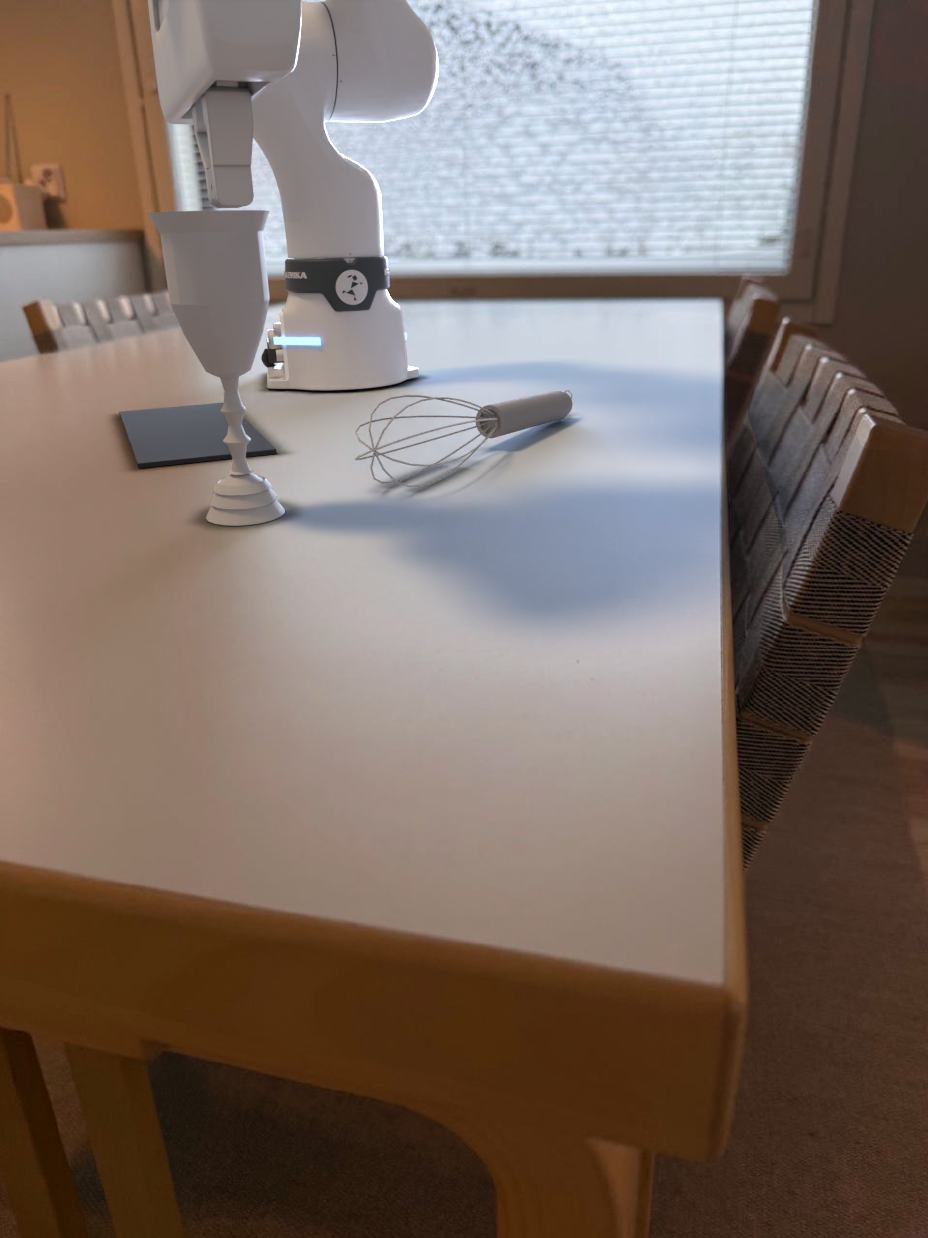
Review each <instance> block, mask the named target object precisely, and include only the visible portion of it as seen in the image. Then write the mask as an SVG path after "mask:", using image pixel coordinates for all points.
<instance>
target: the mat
mask: <svg viewBox="0 0 928 1238" xmlns="http://www.w3.org/2000/svg"><path fill="white" fill-rule="evenodd" d="M223 404H224V402H215V403H214V402H213V403H202V404H191V405H181V406H179V405H178V406H169V407H156V408H145V409H131V410H122V411H121V410H120V411H119V412H118V413H119V417H120V420H121V423H122V426H123V428H124V431H125V434H126V438H127V440H128V443H129V446H130V448H131V451H132V454H133V457H134V461H135V463H136V466H137V469H146V468H147V469H148V468H157V467H165V466H166V467H167V466H175V465H184V464H185V465H186V464H193V463H203V462H213V461H221V460H232V459H233V458H232V455H231V452H230V449H229V446H228V445H227V444H225V443H224V442H223V440H224V439H225V437H226V436H227V433H228V426H229V425H228V423H227V420H226V418H225V416H224V414H223V413H222V412H221V409H222V407H223ZM242 426H243V429H244V431H245V434H246V435H247V436H248V437H250V438H251V440H250V441H249V443H248V444H247V448H246V458H249V457H259V456H267V455H269V456H270V455H276V454H277V453H278V451H277V448H276V447H275V446H274V445H272V444H271V443H270V441H268V439H266V438H265V437H264V436H263V435H262V434H261V433H260V432H259V431H258V430H257V429H256V428H255V427H253V425H252V424H251V423H250V422H248V420H246V419H245V418H244V417H243V420H242Z"/></svg>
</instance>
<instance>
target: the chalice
mask: <svg viewBox="0 0 928 1238" xmlns="http://www.w3.org/2000/svg"><path fill="white" fill-rule="evenodd" d="M147 214H148V216H149V217H150V219H151V221H152V222H153V224H154V226H155V227H156V229H157V231H158V233H159V236H160V242H161V249H162V250H161V251H162V256H163V257H162V258H163V263H164V271H165V278H166V285H167V291H168V292H167V293H168V301H169V304H170V307H171V309H172V312H173V314H174V316H175V318H176V320H177V322H178V324H179V327H180V329H181V332H182V334H183V336H184V337H185V339H186V340H187V342H188V343H189V346H190V347H191V350H193V352H194V354H195V356H196V358H197V359H198V361H199V363H200V364H201V366H202V368H203V370H204V371H205V372H206V373H207V374H210V375H212V376H214V377H217V378H219V379H220V382H221V386H222V388H223V392H224V393H223V403H224V404H223V407H222V409H221V412H222V413H223V414H224V416H225V418H226V420H227V423H228V425H229V426H228V433H227V436H226V437H225V439H224V440H223V442H224V443H225V444H227V445H228V446H229V449H230V452H231V455H232V459H231V460H232V461H231V469H230V470H229V471H227V472H228V474H229V475H228V476H226V477H223V478H221V479H219V480H218V481H217V483H216V484H215V486H214V487H213V490H212V491H213V492H214V493H213V495H212V497H211V499H210V501H209V502H210V503H209V504H210V507H209V510H208V512H207V514H206V517H205V519H206V521H207V522H209V523H211V524H214V525H219V526H232V527H233V526H234V527H238V526H239V527H240V526H251V525H258V524H264V523H267V522H271V521H275V520H277V519H279V518H281V517H282V516H283V515H284V514H285V513H286V512H285V511H286V509H285V508H284V507H283V506H282V505H281V503H280V502H279V501H278V495H277V493H276V492H275V491H274V490H273V488H272V486H273V485H272V484H271V483H270V482H269V480H268V479H267V478H266V477H265V476H263V475H260V474H259V475H258V474H254V473H253V472H254V470H253V468H250V465H249V463H248V460H247V457H246V448H247V444H248V443H249V441H250V440H251V438H250V437H248V436H247V435H246V434H245V431H244V429H243V426H242V420H243V418H244V414H245V413H246V410H247V408H246V407H245V405H244V404H243V402H242V399H241V395H240V393H239V380H240V377H241V376H243V375H244V374H247V373H248V372H250V371H251V370H252V367H253V365H254V362H255V359H256V356H257V352H258V349H259V345H260V343H261V340H262V336H263V333H264V330H265V325H266V320H267V315H268V309H269V305H270V299H271V298H270V289H269V278H268V277H269V276H268V268H267V267H268V266H267V257H266V247H265V237H264V230H265V226H266V223H267V220H268V218H269V214H270V210H265V209H264V210H261V209H252V210H251V209H248V210H247V209H246V210H245V209H238V210H237V209H235V210H234V209H232V210H231V209H230V210H229V209H226V210H225V209H224V210H182V211H181V210H180V211H177V210H176V211H160V212H159V211H157V212H148V213H147Z"/></svg>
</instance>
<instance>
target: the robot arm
mask: <svg viewBox="0 0 928 1238" xmlns="http://www.w3.org/2000/svg"><path fill="white" fill-rule="evenodd" d="M147 6H148V15H149V24H150V32H151V33H150V35H151V43H152V44H151V45H152V52H153V60H154V67H155V69H154V70H155V77H156V85H157V93H158V94H157V95H158V99H159V105H160V109H161V112H162V115H163V118H164V120H165V122H167V123H168V124H172V125H187V126H190V125H191V126H193V131H194V137H195V140H196V143H197V144H196V145H197V147H198V151H199V155H200V158H201V162H202V166H203V169H204V174H205V182H206V190H207V198H208V201H209V203H210V205H211V206H212V207H213V208H216V209H239V208H243V207H247V206H249V205H251V204H252V203H253V202H254V197H255V195H254V185H253V183H254V182H253V174H252V158H253V156H252V155H253V145H254V144H253V143H254V142H253V141H255V142H256V144H257V146H258V147H259V148H260V150H261V151H262V153H263V154H264V157H265V158H266V160H267V162H268V164H269V166H270V169H271V171H272V174H273V176H274V179H275V183H276V186H277V191H278V194H279V200H280V206H281V210H282V211H281V212H282V219H283V224H284V225H283V226H284V232H285V243H286V252H287V258H285V260H284V272H283V277H284V282H285V283H284V286H285V287H284V288H285V291H286V292H288V293H287V297H286V302H285V304H284V307H283V308H281V312H280V313H279V314H278V315H279V322H275V323H272V328H271V329H267V331H266V332H267V338H266V348H264V349H263V352H262V354H261V357H260V359H261V363H262V364H263V365H264V367H266V368H267V369H266V370H267V372H266V373H267V375H266V376H267V377H266V389H271V390H304V391H350V390H363V389H373V388H380V387H381V388H382V387H386V386H392V385H396V384H397V385H398V384H400V383H402V382H404V381H407V380H411V379H416V378H418V377H420V376H421V375H420V370H419V367H415V366H410V365H409V363H408V362H409V361H408V352H407V351H408V350H407V340H408V333H407V332H405V323H404V313H403V309H402V307H401V306H400V305H399V304H398V303H397V302H396V301H394V299H393V298H392V297H391V296H390V293H389V291H388V289H389V288H390V287H391V281H390V275H391V269H390V266H389V258H388V256H386V255H385V245H384V244H385V243H384V228H383V226H384V225H383V210H382V209H383V207H382V192H381V189H380V186H379V184H378V181H377V180H376V178H375V177H374V175H373V174H372V173H371V172H370V171H369V170H368V169H367V168H366V167H364V166H363V165H361V164H360V163H359V162H357V161H355V160H353V159H351V158H349V157H348V156H346V155H344V154H342V153H340V152H339V151H338V150H337V148H336V147H335V145H334V144H333V143H332V141H331V139H330V137H329V134H328V131H327V129H326V124H325V123H327V122H331V123H332V122H333V123H335V122H336V123H337V122H338V123H339V122H340V123H378V124H380V123H386V122H391V121H397V120H402V119H406V118H410V117H413V116H417V115H419V114H421V113H422V112H423V111H424V110H425V108H426V107H427V106H428V105H429V103H430V101H431V99H432V97H433V95H434V92H435V89H436V87H437V84H438V78H439V56H438V50H437V47H436V46H437V45H436V43H435V40H434V38H433V35H432V33H431V32H430V30H429V28H428V26H427V25H426V23H425V21H423V19H421V18H420V17H419V15H417V13H416V12H415V11H414V10H413V8H412V7H411V5H410V4H409V3H408V1H407V0H321V1H318V2H317V1H302V0H147Z"/></svg>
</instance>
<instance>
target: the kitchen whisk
mask: <svg viewBox="0 0 928 1238" xmlns="http://www.w3.org/2000/svg"><path fill="white" fill-rule="evenodd" d="M567 392H568V393H569V394H568V393H567ZM401 398H420V399H418V400H417V401H414V402H412V403H409V404H407V405H406V406H405V407H403V408H402V409H400V410H399V411H398V412H397V413H395V414H394V415H393V416H390V417H382V418H378V419H373V415H374V414H375V412H376V411H377V409H378V408H380V406H381V405H383V404H384V403H386V402H389V401H390V400H394V399H401ZM432 400H437V401H441V402H446V403H451V404H454V405H458V406H461V407H465V408H467V409H471V410H473V411H477V413H476V415H475V416H472V415H471V416H470V415H436V414H435V415H431V414H430V415H400V414H401V413H402V412H404V411H405V410H406V409H408V408H409V407H411V406H414V405H417V404H418V403H422V402H425V401H427V402H428V401H432ZM460 402H462V403H465V404H462V403H460ZM466 404H469V405H466ZM470 405H472V406H473V407H472V406H470ZM478 408H479V409H478ZM572 409H573V393H572V392H571V391H570V390H569V389H566V390H564V391H561V390H552V391H547V392H543V393H538V394H534V395H528V396H524V397H519V398H515V399H510V400H505V401H501V402H495V403H492V404H487V405H484V406H481V405H478V404H475V403H474V402H471V401H467V400H465V399H461V398H456V397H455V398H454V397H450V396H449V397H448V396H428V395H421V394H403V395H402V394H401V395H397V396H390V397H389V398H386V399H385V400H382V401H380V402H378V404H377V405H376V406H375V407H374V409H373V410H372V411H371V413H370V415H369V421H366V422H363V423H362V424H359V425H358V426H357V428H356V429H355V431H354V434H355V436H356V438H357V440H358V442H359V443H361V444H362V445H363V446H365V447H366V448H367V449H369V450H368V451H366V452H364V453H361V454H359V455H358V456H356V457H354V461H361V460H367V459H371V462H370V467H369V468H370V472H371V477H372V479H373V480H374V481H376V482H378V483H379V484H381V485H383V484H384V485H385V484H395V483H396V484H398V485H400V486H402V487H403V486H404V487H406V488H423V487H426V486H430V485H433V484H436V483H437V482H439V481H440V480H442V479H444V478H446V477H447V476H449V475H451V474H452V473H454V471H456V470H457V469H458V468H460V467H461V466H462V465H463V464H465V462H466V461H468V459H470V458H471V457H472V456H473V455H474V454H475V452H477V450H479V448H481V446H482V445H483V444H485V443H486V441H487V440H488V439H495V438H498V437H502V436H506V435H509V434H513V433H516V432H520V431H523V430H527V429H532V428H534V427H535V428H536V427H538V426H541V425H545V424H548V423H552V422H556V421H559V420H562V419H564V418H566V417H567V416H568V415H569V414H570V413H571V412H572ZM399 415H400V416H399ZM412 418H459V419H472V420H467V421H462V422H458V423H451V424H448V425H445V426H441V427H440V426H439V427H436V428H433V429H429V430H426V431H422V432H419V433H416V434H415V433H414V434H412V435H409V436H406V437H403V438H400V439H397V440H395V441H392V442H388V443H386V444H383V445H380V446H379V444H380V443H381V439H382V437H383V435H384V433H385V431H386V430H387V429H388V427H389V426H390V425H391V423H392V422H393V421H394V420H399V419H412ZM473 419H474V420H473ZM387 420H388V422H387V424H386V425H385V426H384V428H383V429H382V431H381V433H380V435H379V437H378V440H377V442H376V444H374V439H373V435H372V430H371V427H372V423H375V422H381V421H387ZM471 423H475V425H474V426H470V427H467V428H464V429H461V430H457V431H454V432H449V433H447V434H443V435H441V436H437V437H433V438H430V439H426V440H424V441H420V442H417V443H413V444H409V445H406V446H402V447H398V448H395V449H391V450H387V451H383V452H380V451H378V450H382V449H384V448H386V447H388V446H392V445H395V444H397V443H400V442H403V441H405V440H410V439H412V438H415V437H418V436H422V435H425V434H429V433H432V432H436V431H439V430H443V429H447V428H451V427H456V426H461V425H467V424H471ZM366 425H368V429H367V430H368V434H369V438H370V443H371V446H369V445H368V444H367V443H366V442H364V441H363V440H362V439H361V438H360V436H359V434H358V431H359V430H360V428H361V427H364V426H366ZM473 429H477V431H478V433H479V434H477V435H475V436H474V437H473V438H471V439H470V440H468V441H467V442H466V443H464V444H463V445H461V446H459V447H458V448H457V449H455V450H454V451H452V452H451V453H449V454H447V455H445V456H444V457H442V458H440V459H439V460H437V461H435V462H434V463H431V464H424V463H423V464H422V463H410V462H406V461H403V460H399V459H394V458H392V457H390V456H387V454H390V453H394V452H397V451H402V450H405V449H408V448H411V447H414V446H419V445H422V444H425V443H429V442H433V441H435V440H439V439H442V438H446V437H449V436H453V435H456V434H459V433H462V432H466V431H469V430H473ZM480 436H482V437H484V439H483V440H482V441H481V442H480V443H479V444H477V445H476V447H474V448H472V449H471V450H470V451H468V452H467V453H465V454H463V455H461V456H459V457H456V458H454V459H451V460H447V461H444V460H446V459H448V458H449V457H451V456H452V455H454V454H455V453H457V452H458V451H460V450H461V449H463V448H465V447H466V446H468V445H469V444H470V443H472V442H473V441H475V440H476V439H478V438H479V437H480ZM371 453H372V455H369V456H367V455H368V454H371ZM379 456H381V457H383V458H385V459H388V460H390V461H392V462H396V463H399V464H403V465H407V466H410V467H425V468H423V469H421V470H419V471H417V472H414V473H412V474H410V475H408V476H405V477H403V478H399V479H395V478H394V477H393V476H392V475H391V474H390V473H389V472H388V471H387V470H386V469H385V468H384V464H383V463H382V461H381V459H380V457H379ZM375 458H376V460H377V461H378V464H379V466H380V468H381V470H382V471H383V472H384V473H385V474H386V475H387V476H388V477H389V478H390V479H391V480H392V481H390V480H389V481H382V480H380V479H378V478H376V476H375V473H374V469H373V466H374V461H375ZM463 458H465V459H463ZM461 459H463V460H462V461H461V462H460V463H459V464H458V465H457V466H456V467H454V468H453V469H451V470H450V471H448V473H446V474H444V475H442V476H440V477H438V478H437V479H435V480H432V481H430V482H427V483H424V484H411V485H409V484H406V483H403V482H402V481H404V480H405V481H406V480H408V479H410V478H412V477H415V476H417V475H419V474H421V473H423V472H424V471H427V470H428V469H430V468H432V467H437V466H444V465H447V464H451V463H453V462H456V461H459V460H461ZM443 461H444V462H443Z"/></svg>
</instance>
